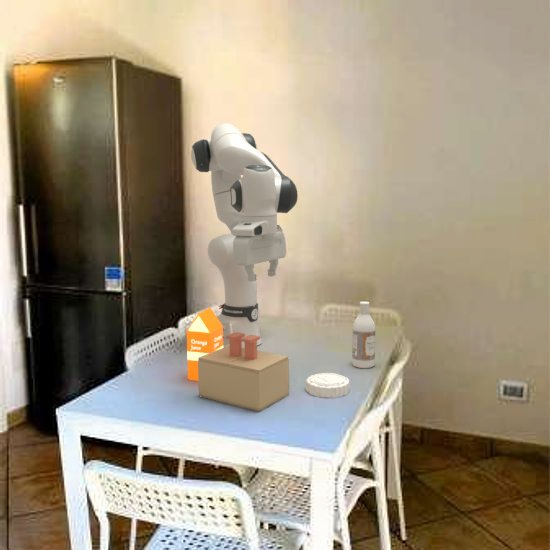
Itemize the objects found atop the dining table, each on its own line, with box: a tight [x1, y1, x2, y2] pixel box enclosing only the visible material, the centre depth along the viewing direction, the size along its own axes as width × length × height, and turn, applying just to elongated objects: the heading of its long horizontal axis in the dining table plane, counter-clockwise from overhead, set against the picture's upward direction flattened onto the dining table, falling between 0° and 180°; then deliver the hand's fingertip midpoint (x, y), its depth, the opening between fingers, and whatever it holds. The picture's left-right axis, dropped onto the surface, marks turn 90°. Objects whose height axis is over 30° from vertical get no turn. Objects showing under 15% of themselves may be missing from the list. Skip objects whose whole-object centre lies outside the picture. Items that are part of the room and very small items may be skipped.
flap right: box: [228, 335, 289, 373], centre depth 161 cm, size 10×14×7 cm
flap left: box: [198, 332, 245, 367], centre depth 166 cm, size 10×14×7 cm
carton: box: [197, 358, 290, 413], centre depth 165 cm, size 20×14×10 cm
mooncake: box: [305, 372, 351, 399], centre depth 169 cm, size 12×12×4 cm
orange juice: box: [186, 307, 223, 382], centre depth 180 cm, size 8×9×20 cm
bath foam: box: [351, 301, 376, 369], centre depth 189 cm, size 7×7×20 cm
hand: (262, 278), depth 164 cm, fingers open, 8 cm apart
